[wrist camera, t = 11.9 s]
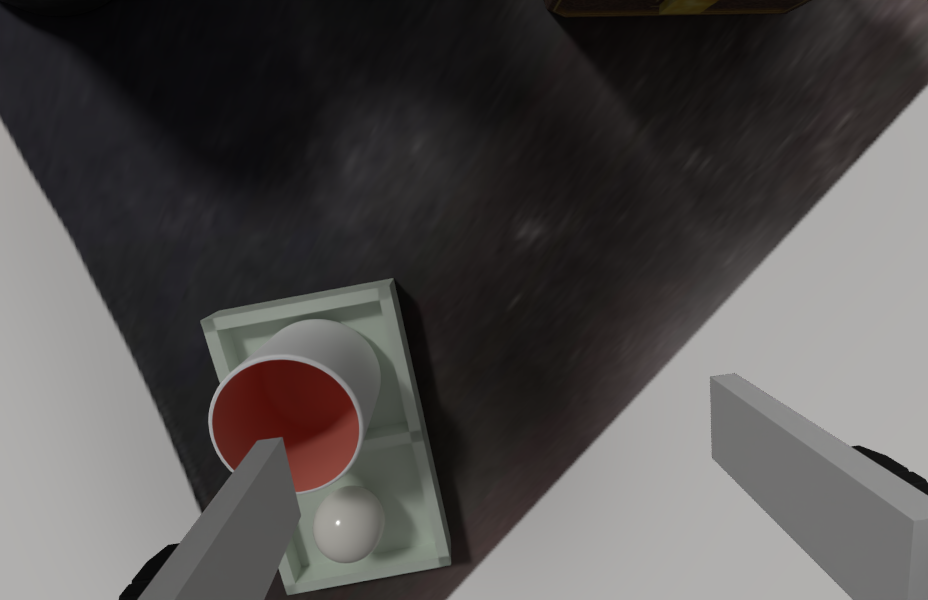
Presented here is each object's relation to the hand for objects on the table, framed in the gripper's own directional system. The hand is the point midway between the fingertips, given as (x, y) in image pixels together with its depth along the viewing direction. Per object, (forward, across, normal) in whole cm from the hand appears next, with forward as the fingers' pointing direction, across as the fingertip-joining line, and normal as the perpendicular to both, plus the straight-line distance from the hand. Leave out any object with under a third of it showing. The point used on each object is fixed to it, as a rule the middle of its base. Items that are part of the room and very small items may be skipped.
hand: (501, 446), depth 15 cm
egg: (+26, -13, -18) cm, 34 cm away
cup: (+26, -13, -6) cm, 30 cm away
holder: (+27, -13, -12) cm, 32 cm away
